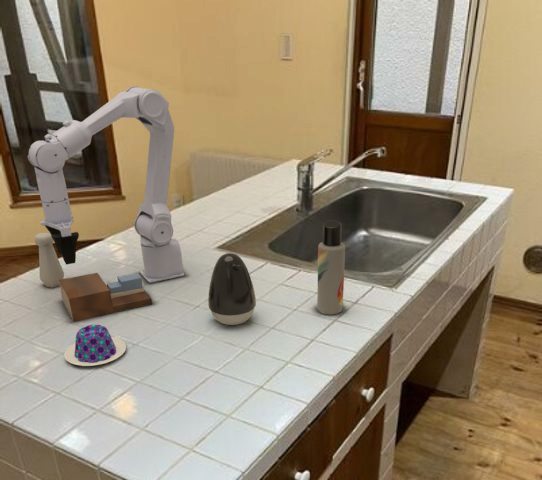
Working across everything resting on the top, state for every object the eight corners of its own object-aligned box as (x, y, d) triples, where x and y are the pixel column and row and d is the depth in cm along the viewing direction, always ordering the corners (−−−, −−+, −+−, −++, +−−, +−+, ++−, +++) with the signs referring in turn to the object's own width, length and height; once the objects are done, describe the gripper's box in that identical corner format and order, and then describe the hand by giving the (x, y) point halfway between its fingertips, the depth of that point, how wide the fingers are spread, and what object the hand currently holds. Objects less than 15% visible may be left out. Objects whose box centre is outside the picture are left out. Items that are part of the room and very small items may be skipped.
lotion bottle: (345, 305, 137) (348, 219, 127) (339, 316, 133) (342, 227, 123) (320, 302, 139) (322, 217, 129) (314, 313, 134) (315, 225, 124)
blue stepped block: (140, 286, 146) (138, 272, 144) (144, 291, 143) (142, 277, 141) (106, 293, 143) (104, 279, 141) (110, 298, 140) (108, 284, 138)
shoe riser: (137, 286, 150) (134, 265, 147) (152, 304, 141) (149, 282, 138) (63, 301, 143) (58, 280, 140) (73, 321, 134) (68, 298, 131)
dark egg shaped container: (221, 335, 127) (216, 266, 119) (202, 316, 135) (197, 250, 127) (265, 324, 130) (262, 257, 123) (244, 306, 138) (241, 242, 131)
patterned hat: (65, 344, 125) (60, 321, 122) (124, 335, 127) (120, 313, 125) (64, 373, 115) (59, 349, 112) (129, 363, 117) (125, 339, 115)
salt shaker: (58, 289, 149) (47, 238, 143) (37, 288, 150) (25, 237, 144) (69, 280, 154) (59, 230, 148) (49, 279, 155) (38, 229, 149)
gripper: (31, 194, 137) (44, 251, 144) (41, 210, 125) (54, 271, 132) (63, 189, 139) (74, 246, 146) (75, 205, 128) (87, 265, 135)
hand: (67, 258), depth 140 cm, fingers open, 7 cm apart
